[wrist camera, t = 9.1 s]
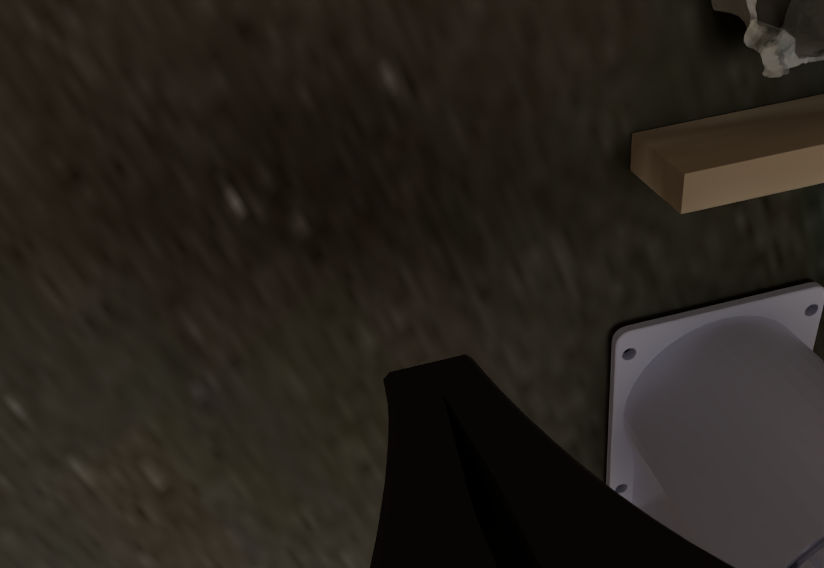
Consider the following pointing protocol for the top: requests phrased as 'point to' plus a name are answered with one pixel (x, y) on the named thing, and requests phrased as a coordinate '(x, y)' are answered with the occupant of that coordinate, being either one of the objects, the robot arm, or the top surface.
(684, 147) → the box
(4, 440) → the top surface
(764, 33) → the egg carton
